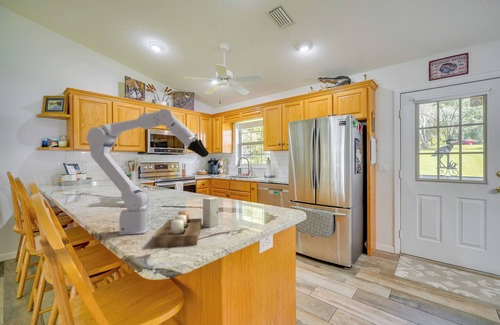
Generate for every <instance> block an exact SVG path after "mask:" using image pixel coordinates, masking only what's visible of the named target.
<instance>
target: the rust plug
mask: <svg viewBox="0 0 500 325" xmlns="http://www.w3.org/2000/svg"><path fill="white" fill-rule="evenodd" d="M177 215H186V222H188V221H189V219H190V218H189V217H190V211H189V210H181V211H178V213H177Z"/></svg>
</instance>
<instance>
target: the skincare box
mask: <svg viewBox="0 0 500 325" xmlns="http://www.w3.org/2000/svg"><path fill="white" fill-rule="evenodd" d="M218 225H219V197H217V196H216V197H215V196H210V197H209V196H208V197H205V198H202V227H205V228H213V227H215V226H218Z"/></svg>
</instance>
